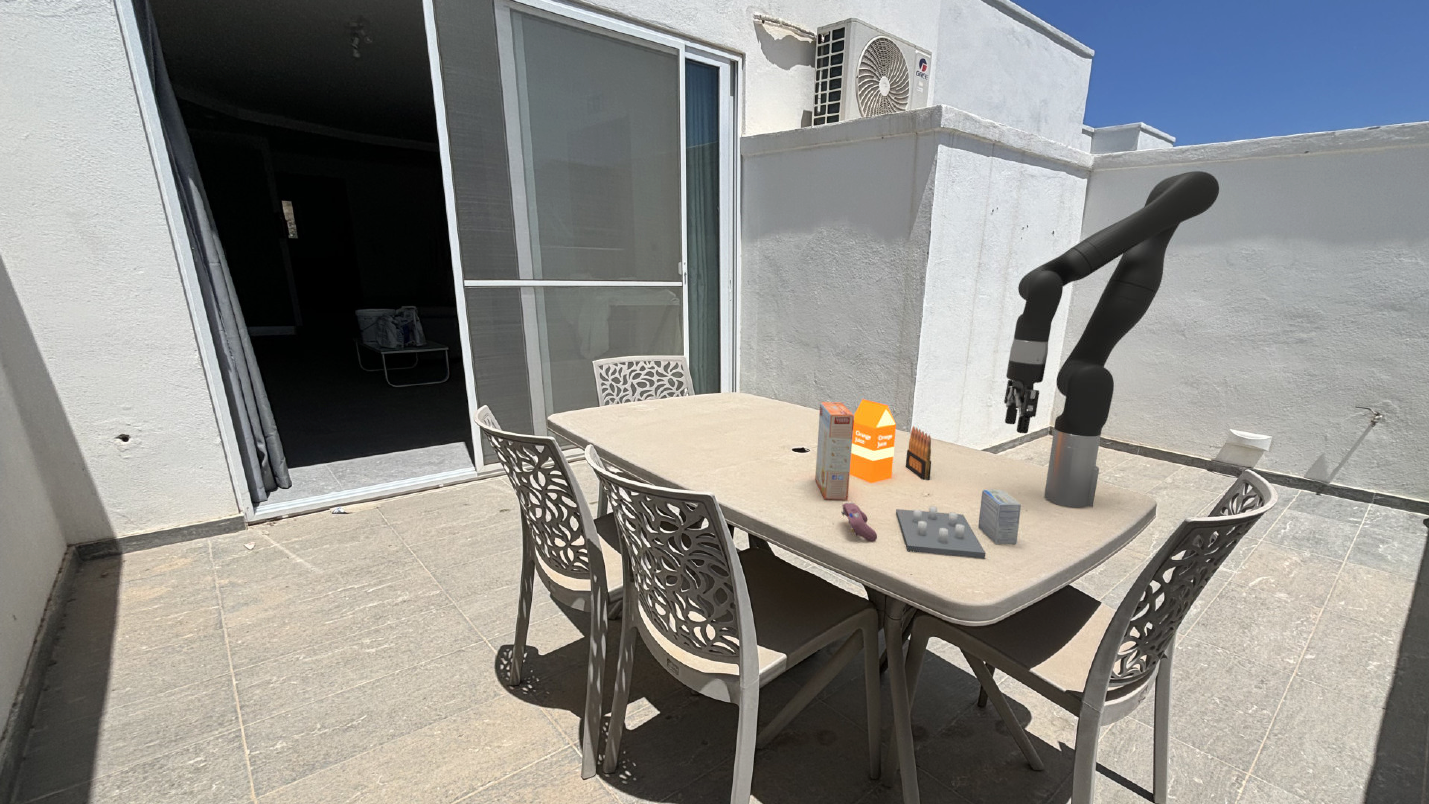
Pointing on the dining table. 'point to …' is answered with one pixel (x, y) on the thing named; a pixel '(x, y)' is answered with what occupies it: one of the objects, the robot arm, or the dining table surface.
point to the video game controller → (858, 521)
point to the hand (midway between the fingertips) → (1015, 428)
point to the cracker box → (834, 450)
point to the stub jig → (938, 533)
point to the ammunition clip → (919, 454)
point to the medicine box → (999, 516)
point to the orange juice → (872, 442)
